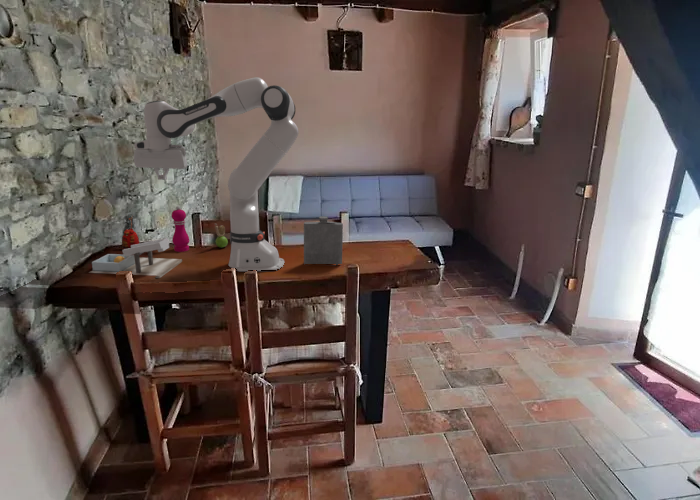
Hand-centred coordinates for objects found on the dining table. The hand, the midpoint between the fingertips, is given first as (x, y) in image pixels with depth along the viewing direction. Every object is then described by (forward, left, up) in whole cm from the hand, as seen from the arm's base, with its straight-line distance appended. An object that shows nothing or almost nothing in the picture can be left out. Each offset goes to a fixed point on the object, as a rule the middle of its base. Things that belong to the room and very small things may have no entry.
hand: (162, 179), depth 179 cm
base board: (+6, +14, -33) cm, 36 cm away
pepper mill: (0, -12, -33) cm, 35 cm away
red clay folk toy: (+22, -10, -33) cm, 41 cm away
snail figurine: (-16, -18, -33) cm, 41 cm away
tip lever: (0, +12, -26) cm, 28 cm away
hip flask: (-65, -1, -33) cm, 73 cm away
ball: (+12, +17, -30) cm, 36 cm away
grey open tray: (+14, +17, -32) cm, 39 cm away
